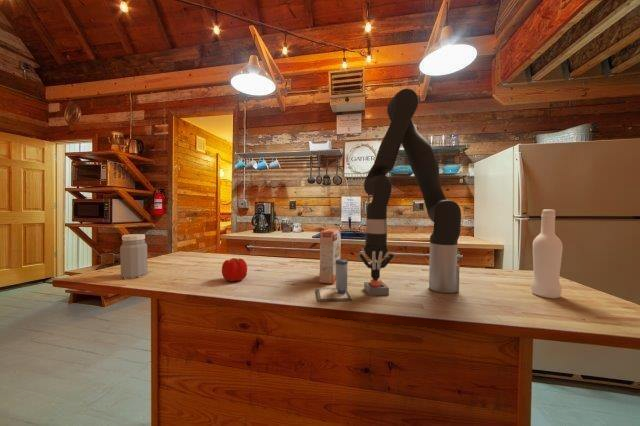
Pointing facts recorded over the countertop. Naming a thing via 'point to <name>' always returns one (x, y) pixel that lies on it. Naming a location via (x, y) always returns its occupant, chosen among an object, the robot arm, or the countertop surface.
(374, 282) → the button
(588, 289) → the countertop surface
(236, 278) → the tomato
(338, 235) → the cracker box
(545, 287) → the bottle
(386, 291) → the button collar
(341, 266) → the grey-blue cylinder
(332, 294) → the board
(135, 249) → the jar
